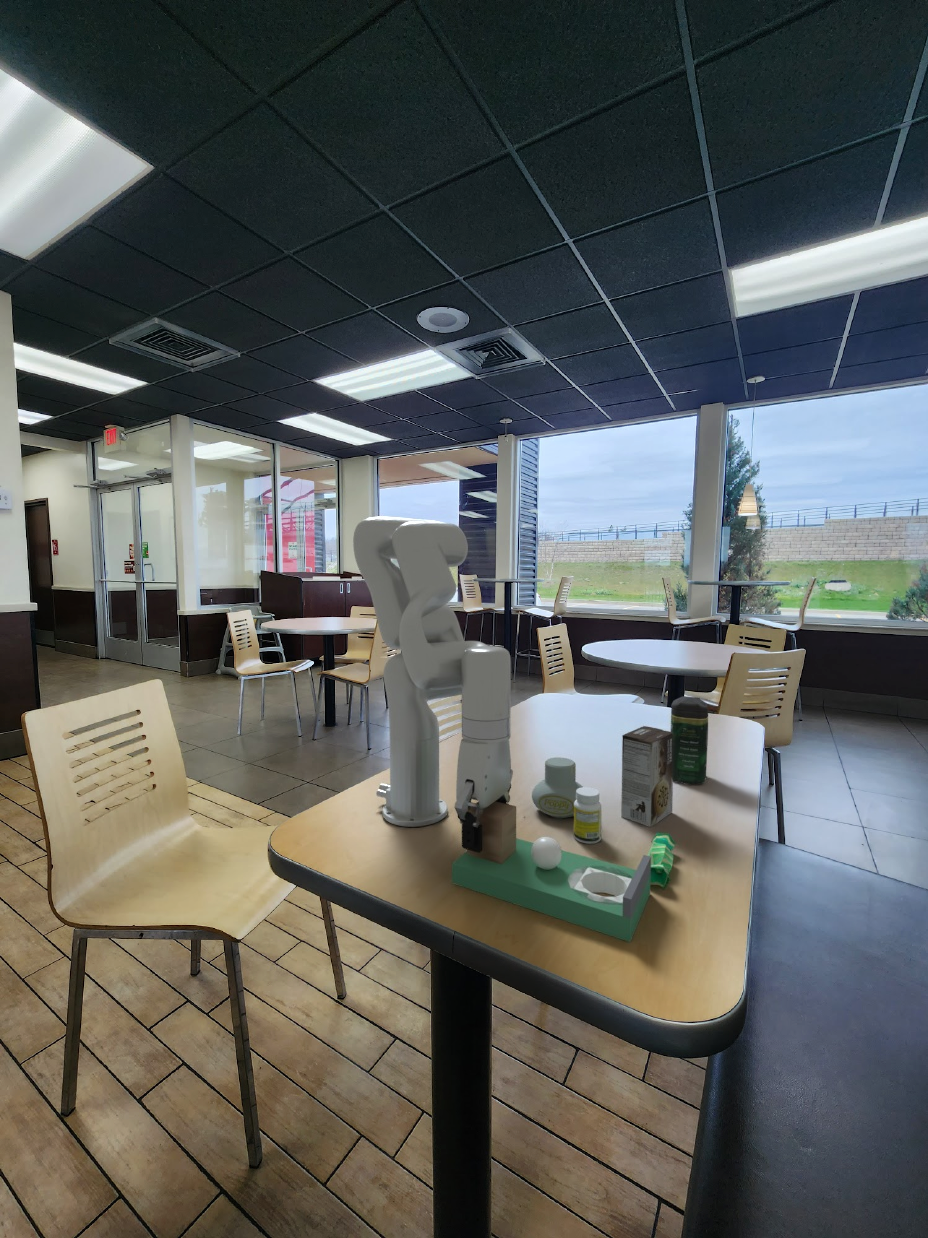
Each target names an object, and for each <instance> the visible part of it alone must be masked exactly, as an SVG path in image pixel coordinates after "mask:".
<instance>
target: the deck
mask: <svg viewBox="0 0 928 1238" xmlns="http://www.w3.org/2000/svg"><path fill="white" fill-rule="evenodd" d="M533 844H534V842H532V841H528V840H524V839H520V838H517V837H516V851H515V852H514V853H513V854H512V855H511V856H510V857H509V858H508V859H507V860H506V861H505V862H504V863H503V864H499V863H495V862H492V861H488V860H485V859H482V858H478V857H475V856H471V855H468V854H467V850H466V851H465V852H464V853H462V855H460V856H459V857H458V858H457V859H455V861H453V862H452V863H451V883H452V884H453V885H457V886H461V887H463V888H465V889H469V890H472V891H474V892H478V893H481V894H484V895H487V896H490V897H492V898H493V897H494V898H495V899H499V900H502V901H505V902H508V903H510V904H514V905H517V906H521V907H523V908H526V909H529V910H531V911H535V912H539V913H541V914H544V915H547V916H550V917H553V918H556V919H560V920H562V921H565V922H569V923H571V924H574V925H577V926H580V927H583V928H586V929H589V930H591V931H596V932H599V933H601V934H605V935H606V936H607V935H608V936H610V937H613V938H617V939H619V940H622V941H625V942H629V943H632V942H631V941H632V938H633V936H634V934H635V932H636V930H637V927H638V924H639V922H640V920H641V917H642V915H643V912H644V910H645V907H646V905H647V903H648V901H649V897H650V895H651V885H650V879H651V857H650V856H648V855H646V854H644V855H642V858H641V859H640V862H639V864H638V866H637V868H636V869H634V868H630V867H627V866H623V865H619V864H615V863H613V862H608V861H605V860H599V859H596V858H593V857H589V856H585V855H581V854H577V853H573V852H569V851H566V850H562V849H561V852H562V857H561V860H560V862H559V864H558V865H557V866H556V867H555V868H553V869H549V870H545V869H542V868H540V867H538V866H537V865H536V864H535V863H534V861H533V859H532V855H531V849H532V846H533ZM597 893H605V894H607V895H611V896H602V895H599V894H597Z"/></svg>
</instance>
